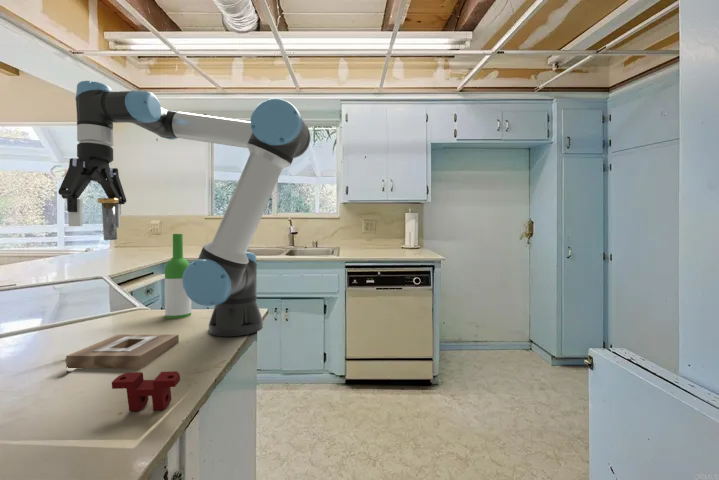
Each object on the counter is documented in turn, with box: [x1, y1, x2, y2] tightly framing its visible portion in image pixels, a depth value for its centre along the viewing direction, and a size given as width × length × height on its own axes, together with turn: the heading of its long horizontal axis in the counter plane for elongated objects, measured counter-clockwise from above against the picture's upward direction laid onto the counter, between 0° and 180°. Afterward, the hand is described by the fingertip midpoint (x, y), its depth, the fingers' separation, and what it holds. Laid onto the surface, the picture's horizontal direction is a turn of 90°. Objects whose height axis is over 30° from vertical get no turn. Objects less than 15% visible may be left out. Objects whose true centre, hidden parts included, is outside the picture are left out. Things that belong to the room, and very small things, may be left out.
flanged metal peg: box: [97, 197, 119, 241], centre depth 96 cm, size 5×5×11 cm
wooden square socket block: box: [65, 333, 180, 370], centre depth 83 cm, size 16×16×4 cm
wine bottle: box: [164, 233, 192, 319], centre depth 116 cm, size 8×8×30 cm
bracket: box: [110, 370, 181, 412], centre depth 59 cm, size 3×6×10 cm
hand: (96, 227), depth 91 cm, fingers open, 13 cm apart
